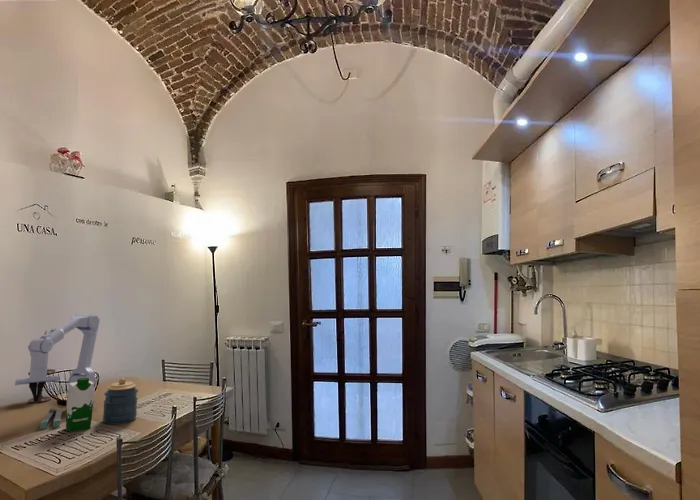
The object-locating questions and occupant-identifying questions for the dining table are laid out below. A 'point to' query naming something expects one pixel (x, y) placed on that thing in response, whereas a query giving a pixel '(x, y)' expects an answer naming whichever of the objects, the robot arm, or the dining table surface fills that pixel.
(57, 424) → the tongs fixed
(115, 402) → the canister
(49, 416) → the tong leg
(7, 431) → the dining table surface
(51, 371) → the candlestick
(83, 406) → the milk carton
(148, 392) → the dining table surface
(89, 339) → the robot arm
